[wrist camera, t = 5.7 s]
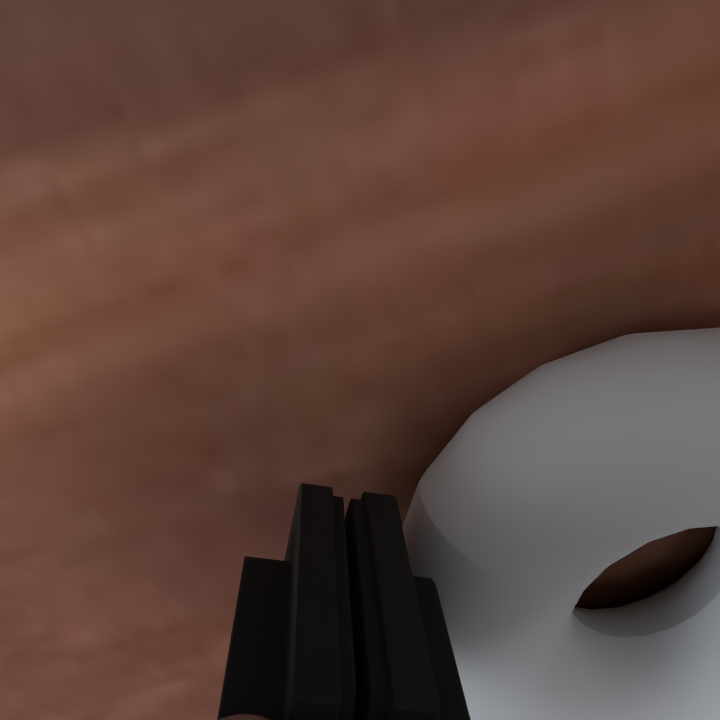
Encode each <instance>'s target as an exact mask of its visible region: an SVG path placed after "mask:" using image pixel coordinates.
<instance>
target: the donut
mask: <svg viewBox="0 0 720 720" xmlns="http://www.w3.org/2000/svg"><path fill="white" fill-rule="evenodd" d="M713 526H717V527H716V531H715V535H714V539H713V541H712V542H711V544H710V545H709V547H708V548H707V550H706V552H705V553H704V555H703V556H702V558H701V559H700V560H699V561H698V562H697V563H696V564H695V565H694V566H693V567H692V568H691V569H689V570H688V571H687V572H686V573H685V574H684V575H683V576H682V577H681V578H680V579H679V580H678V581H676V582H674V583H673V584H671V585H669V586H667V587H666V588H664V589H662V590H661V591H659V592H657V593H655V594H654V595H652V596H650V597H648V598H645V599H642V600H639V601H636V602H633V603H629V604H626V605H623V606H620V607H615V608H604V609H592V610H590V609H584V608H578V607H575V605H576V604H577V602H578V600H579V598H580V596H581V594H582V593H583V591H584V590H585V589H586V588H587V587H588V586H589V585H590V584H591V583H592V582H593V581H594V580H595V579H596V578H597V577H598V576H599V575H600V574H601V573H602V572H603V571H604V570H605V569H606V568H607V567H608V566H610V565H611V564H613V563H615V562H616V561H618V560H620V559H621V558H623V557H625V556H626V555H628V554H630V553H631V552H633V551H635V550H636V549H638V548H640V547H641V546H643V545H645V544H646V543H648V542H650V541H653V540H656V539H659V538H662V537H665V536H668V535H671V534H674V533H677V532H680V531H683V530H686V529H690V528H701V527H713ZM402 528H403V533H404V538H405V542H406V547H407V552H408V557H409V561H410V566H411V571H412V576H417V577H426V578H431V579H432V580H433V581H434V582H435V585H436V588H437V591H438V595H439V599H440V603H441V606H442V610H443V614H444V618H445V622H446V626H447V630H448V634H449V638H450V641H451V645H452V649H453V653H454V657H455V661H456V665H457V669H458V673H459V676H460V680H461V684H462V688H463V692H464V696H465V700H466V704H467V707H468V711H469V715H470V719H471V720H720V328H707V329H692V330H677V331H662V332H647V333H633V334H629V335H624V336H620V337H617V338H614V339H611V340H609V341H606V342H603V343H600V344H598V345H595V346H592V347H589V348H587V349H584V350H581V351H578V352H575V353H573V354H570V355H567V356H564V357H562V358H559V359H556V360H553V361H551V362H548V363H545V364H542V365H540V366H538V367H537V368H536V369H534V370H533V371H531V372H530V373H528V374H527V375H526V376H524V377H523V378H521V379H520V380H518V381H517V382H516V383H514V384H513V385H511V386H510V387H508V388H507V389H506V390H504V391H503V392H501V393H500V394H499V395H497V396H496V397H494V398H493V399H491V400H490V401H489V402H487V403H486V404H484V405H483V406H481V407H480V408H479V409H477V410H476V411H474V412H473V413H472V414H471V415H470V417H469V418H468V419H467V420H466V422H465V423H464V424H463V425H462V427H461V428H460V429H459V430H458V432H457V433H456V434H455V435H454V437H453V438H452V439H451V440H450V441H449V443H448V444H447V445H446V446H445V448H444V449H443V450H442V451H441V453H440V454H439V455H438V456H437V458H436V459H435V460H434V461H433V463H432V464H431V465H430V466H429V467H428V469H427V470H426V471H425V473H424V474H423V476H422V477H421V479H420V480H419V483H418V486H417V488H416V491H415V494H414V496H413V499H412V502H411V504H410V507H409V510H408V512H407V515H406V518H405V520H404V523H403V526H402Z"/></svg>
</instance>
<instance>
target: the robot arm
mask: <svg viewBox="0 0 720 720" xmlns="http://www.w3.org/2000/svg"><path fill="white" fill-rule="evenodd" d="M217 720H471V719H470V715H469V711H468V707H467V704H466V700H465V696H464V692H463V688H462V684H461V680H460V676H459V673H458V669H457V665H456V661H455V657H454V653H453V649H452V645H451V641H450V638H449V634H448V630H447V626H446V622H445V618H444V614H443V610H442V606H441V603H440V599H439V595H438V591H437V588H436V585H435V582H434V581H433V580H432V579H431V578H426V577H417V576H412V571H411V566H410V561H409V557H408V552H407V547H406V542H405V538H404V533H403V528H402V523H401V519H400V514H399V509H398V505H397V500H396V497H395V496H391V495H384V494H377V493H369V492H364V493H363V494H362V496H361V499H360V500H359V499H351V500H350V502H349V506H348V510H347V514H346V518H345V516H344V502H343V498H342V497H337V496H333V491H332V487H326V486H318V485H311V484H304V483H301V484H300V488H299V492H298V496H297V501H296V506H295V511H294V516H293V521H292V526H291V530H290V535H289V540H288V545H287V550H286V555H285V559H284V561H280V560H271V559H263V558H254V557H246V556H245V558H244V564H243V569H242V575H241V581H240V587H239V592H238V598H237V604H236V610H235V616H234V622H233V628H232V634H231V640H230V646H229V652H228V658H227V664H226V670H225V676H224V682H223V688H222V694H221V700H220V706H219V712H218V719H217Z"/></svg>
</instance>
